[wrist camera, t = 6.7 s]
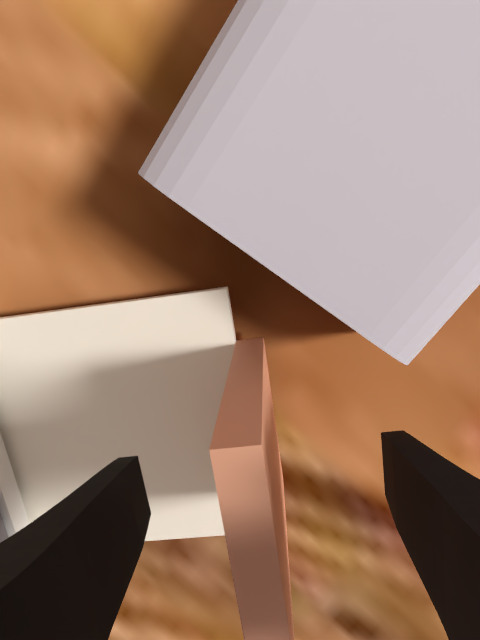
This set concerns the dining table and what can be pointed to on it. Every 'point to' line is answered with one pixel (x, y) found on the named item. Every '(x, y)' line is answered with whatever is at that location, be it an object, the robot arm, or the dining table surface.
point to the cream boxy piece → (156, 427)
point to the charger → (341, 155)
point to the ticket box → (9, 499)
